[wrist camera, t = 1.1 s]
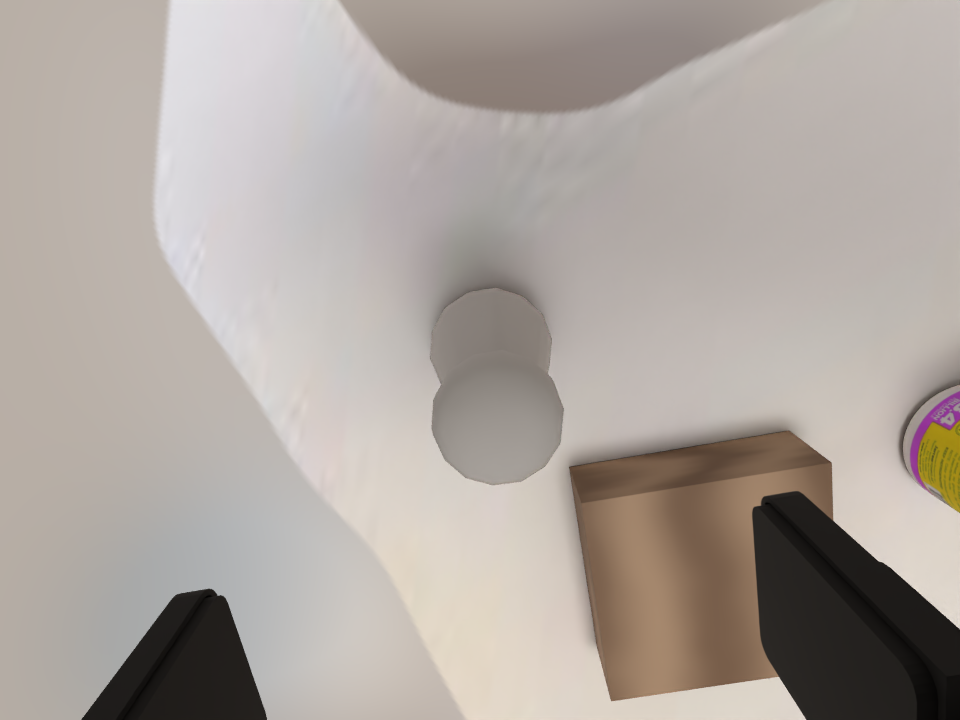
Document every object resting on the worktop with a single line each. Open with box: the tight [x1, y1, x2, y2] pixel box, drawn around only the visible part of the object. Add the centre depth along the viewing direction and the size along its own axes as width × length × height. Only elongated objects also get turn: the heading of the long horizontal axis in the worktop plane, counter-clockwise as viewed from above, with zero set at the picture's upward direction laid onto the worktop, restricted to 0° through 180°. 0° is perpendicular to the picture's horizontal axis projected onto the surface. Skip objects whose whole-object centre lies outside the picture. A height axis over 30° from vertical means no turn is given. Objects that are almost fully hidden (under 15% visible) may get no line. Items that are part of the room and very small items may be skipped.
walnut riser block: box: [569, 431, 833, 701], centre depth 32 cm, size 12×12×4 cm
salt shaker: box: [430, 288, 564, 485], centre depth 24 cm, size 6×6×13 cm
